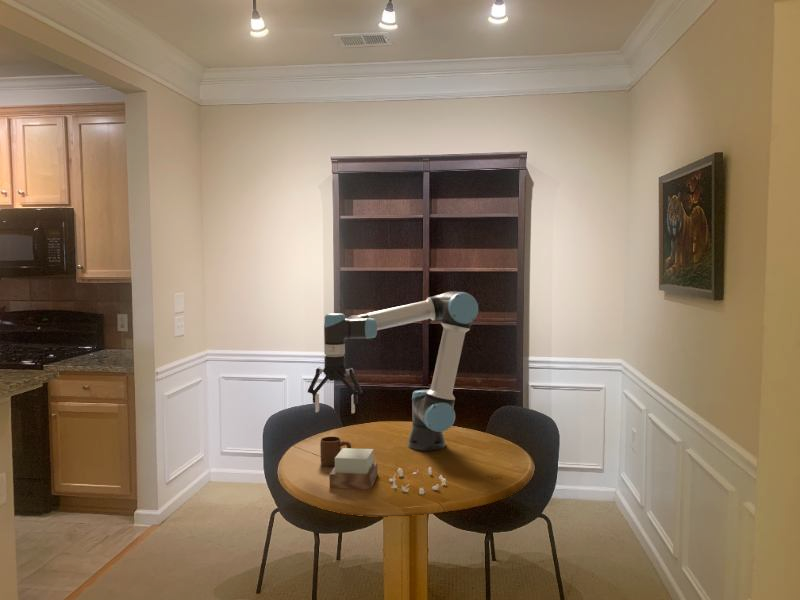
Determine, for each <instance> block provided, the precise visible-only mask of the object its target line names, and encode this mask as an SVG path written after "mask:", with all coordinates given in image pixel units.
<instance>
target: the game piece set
mask: <svg viewBox="0 0 800 600" xmlns="http://www.w3.org/2000/svg"><path fill="white" fill-rule="evenodd" d="M427 470H428V474H429V476H431V475H432V472H433V471H432V467H431V466H429V467H428V469H427ZM403 472H404V471H403V468H401V467H398V469H397V473H398V475H399V477H403V475H404V473H403ZM418 472H419V469H417V471H416V472H413V473H412V475H417V473H418ZM393 475H394V476H393V477H392V478H389V479H388V482H390V483H392V484H393V485H391V486H390V487H391V489H397V488H398V484H397V483H396V482H395V481H396V480H397V479H396V478H395V477H396V475H397V474H396V473H395V474H393ZM438 479H439V480H440V481H441V486H443V485H445V486H446V485H447V484H446V481H447V479H446V478H444V477H443V475H442V474H440V475H439V477H438ZM408 486H410V483H408V484H407V485H406V486H403V485H401V489H400V490H401V491H403V492H405V493H408V492H409V490H410V488H407V487H408ZM439 489H440V485H439V484H437V483H436V485H434V486H432V490H435V491H436V490H437V491H438V490H439ZM418 493H419V494H420V495H424V494H425V489H424V487H420V488H419V491H418Z"/></svg>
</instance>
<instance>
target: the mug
mask: <svg viewBox="0 0 800 600" xmlns="http://www.w3.org/2000/svg"><path fill="white" fill-rule="evenodd" d="M319 444H320V445H319V446H320V448H319V449H320V464H321V465H322V466H323V467H328V468H332V467H333V468H334V467H335V457H336V456H337V455H338V453H339V452H340V451H341V450H342V447H343V446H346V448H352V444H351V443H350V442H349V441H347V440H343V441H341V438H340V437H339V436H326V437H325V436H324V437H322V438H320V443H319Z"/></svg>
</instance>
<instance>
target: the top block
mask: <svg viewBox="0 0 800 600" xmlns="http://www.w3.org/2000/svg"><path fill="white" fill-rule="evenodd" d="M374 452H375V451H374V448H353V447H351V448H347V447H345V448H344V447H343V448H341V451H340V452H339V453H338V455H337V456H336V457H335V466H334V467H335V473H355V474H367V473H368V472H369V470H370V468H371V467H372V465H373V463H374V462H375V461H374V459H375V458H374V455H375V454H374Z"/></svg>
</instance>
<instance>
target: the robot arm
mask: <svg viewBox="0 0 800 600" xmlns="http://www.w3.org/2000/svg"><path fill="white" fill-rule="evenodd" d="M478 314H479V305H478V302H477V300H476V298H475V297H474V296H473V295H472V294H469V293H468V292H465V291H455V290H454V291H453V290H451V291H446V292H443V293H441V294H436V295H433V296H428V297H427V298H426V300H422V301H421V300H420V301H418V302H412V303H409V304H404V305H400V306H399V305H398V306H395V307H390V308H385V309H381V310H376V311H372V312H366V313H363V314H358V315H357V314H353V315H350V316H349V317H348V318H346V317H345V314H344V313H341V312H340V313H334V312H333V313H326V314H325V316H324V320H323V321H324V322H323V329H324V330H323V334H324V336H323V338H324V340H323V341H324V349H323V350H324V355H325V356H324V368H321V367H316V369H315V375H314V377H313V379H312V381H311V383H310V385H309V387H308V389H307V393H309V394H312V403H313V404H315V409H314V411H315V413H318V412H320V393H318V392H319V391H320V390H321V388H322V387H323V386H324V385H325V383H326V382H327V381H328V380H329V381H335V382H339V381H341V382H342V383H343V384H344V385H345V386H346V388H347V389H348V390H349V392H351V394H352V395H351V401H350V402H351V403H350V404H351V414H355V412H356V405H357V404H358V395H361V394H362V393H363V389H362V387H361V385H360V383H359V380H358V378H357V377H356V375H355V369H354V367H351V368H346V356H345V354H346V344H345V343H346V342H345V340H350V339H351V340H352V339H354V340H356V339H360V340H361V339H367V340H369V339H374V338H376V337H377V334H378V331H380V330H384V329H389V328H394V327H398V326H403V325H408V324H412V323H417V322H420V321H425V320H429V319H430V320H431V321H438V320H441V321H440V325H441V326H442V327H443V330H442V333H441V334H442V335H441V340H440V343H439V348H438V351H437V352H438V353H437V356H436V362H435V365H434V366H435V367H434V372H433V376H432V381H431V385H430V388H429V389H420V390H419V389H418V390H414V391H413V392H412V397H411V401H412V402H411V405H412V406H411V407H412V410H411V411H412V412H411V413H412V417H411V418H412V428H411V431H410V434H409V437H408V442H407V443H408V447H409V448H411V449H413V450H415V451H421V452H433V451H439V450H442V449H444V448H445V447H446V439H445V436H444V433H443V432H445V431H447V430H449V429H450V428H451V427H452V426H453V425H454V423H455V420H456V412H455V409H454V407H455V406H454V405H455V402H456V401H455V400H456V397H455V395H454V394H453V391H454V387H455V383H456V378H457V373H458V368H459V364H460V359H461V355H462V350H463V346H464V342H465V336H466V333H467V332H469V331H470V330H471V326H472V323H473V321H474V320H475V319H476V318H477V317H478ZM322 373H323V374H324V375H325V377H324V378H323V379H322V380H321V382H320V383H319V384H318V385H317V386H316V384H317V381H318V379H319V378H320V376H321V374H322ZM346 374H347V375H348V376H349V377H350V380H351V381H352V383H353V385H352V383H351V382H350V381H349V380H348V378H347V377H346V376H345V375H346ZM315 386H316V388H315Z"/></svg>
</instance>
